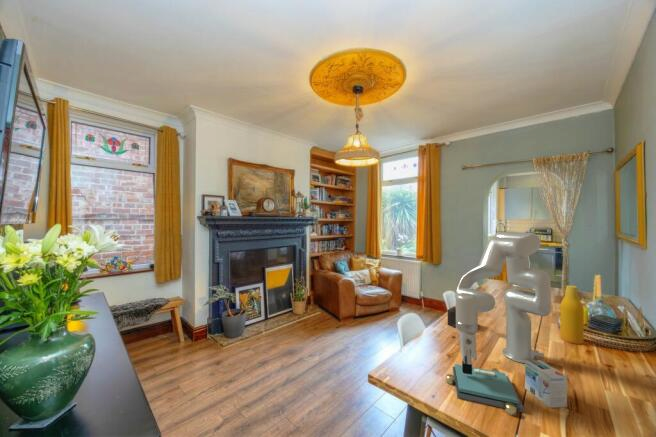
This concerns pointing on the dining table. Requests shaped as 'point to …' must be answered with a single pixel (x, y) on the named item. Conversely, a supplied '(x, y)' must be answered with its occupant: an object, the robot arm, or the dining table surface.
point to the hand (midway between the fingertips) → (467, 372)
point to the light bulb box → (546, 383)
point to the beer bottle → (572, 317)
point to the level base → (508, 406)
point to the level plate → (485, 384)
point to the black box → (452, 317)
